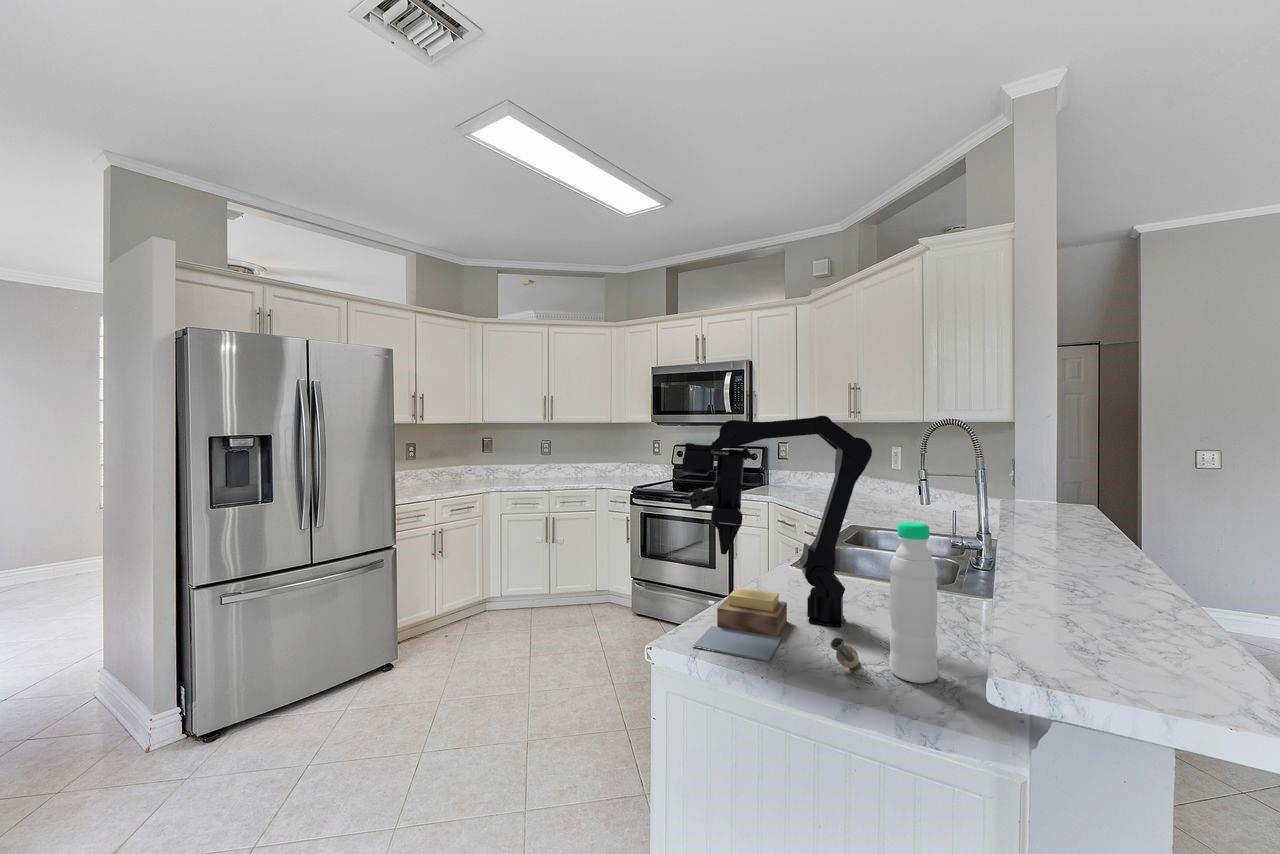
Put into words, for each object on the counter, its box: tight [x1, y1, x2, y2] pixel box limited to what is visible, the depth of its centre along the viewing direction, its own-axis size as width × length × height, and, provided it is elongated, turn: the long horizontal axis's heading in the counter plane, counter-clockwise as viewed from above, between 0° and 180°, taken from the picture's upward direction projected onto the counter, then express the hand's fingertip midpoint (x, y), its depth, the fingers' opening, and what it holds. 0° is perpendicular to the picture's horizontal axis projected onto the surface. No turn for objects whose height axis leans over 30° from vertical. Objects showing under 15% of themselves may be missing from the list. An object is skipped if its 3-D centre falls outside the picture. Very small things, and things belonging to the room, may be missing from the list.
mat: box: [692, 625, 782, 663], centre depth 102 cm, size 14×11×1 cm
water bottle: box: [889, 521, 938, 684], centre depth 89 cm, size 7×7×25 cm
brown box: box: [716, 596, 788, 637], centre depth 112 cm, size 12×10×4 cm
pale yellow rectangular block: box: [728, 587, 780, 611], centre depth 113 cm, size 9×6×2 cm, turn 64°
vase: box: [829, 637, 871, 678], centre depth 90 cm, size 5×5×6 cm
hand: (723, 549), depth 118 cm, fingers open, 9 cm apart
